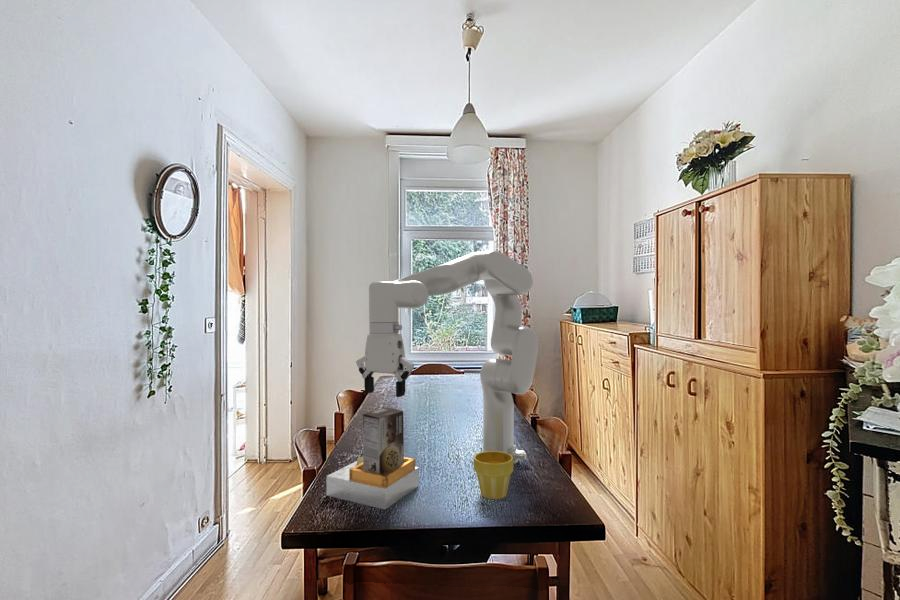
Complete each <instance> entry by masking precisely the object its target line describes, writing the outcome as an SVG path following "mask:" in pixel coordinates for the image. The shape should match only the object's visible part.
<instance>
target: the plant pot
mask: <svg viewBox="0 0 900 600" xmlns="http://www.w3.org/2000/svg"><path fill="white" fill-rule="evenodd" d="M514 465H515V464H514V462H513V457H512V455H510V454H508V453H505V452H501V451H484V452H483V451H480V452H477V453H475V454H474V456H473V471H474V472H475V473H476V476H477V480H478V486H479V490H480V491H479V492H480V495H481V496H482V497H484V498H485V499H489V500H501V499H504V498H506V497H507V495H508V489H509V485H510V484H509V483H510V480H511V474H512V473H513V472H514Z"/></svg>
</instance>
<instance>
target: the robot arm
mask: <svg viewBox="0 0 900 600" xmlns="http://www.w3.org/2000/svg"><path fill="white" fill-rule="evenodd" d="M480 281H484V287H485V289H486V290H487V292H488V294H490V297H491V298H492V300H493V303H494V306H495V314H494V321H493V326H492V332H491V337H490V348H491V349H492V351H493V352H494V353H496V354H499V355H503V356H508V357H511V360H508V359H505V358H504V359H503V358H490V359H488V360H485V362H484V363H483V364H482V366H481V369H480V373H479V377H480V378H479V379H480V384H481V389H482V398H483V400H482V401H483V403H482V404H483V410H482V411H483V413H482V415H483V416H482V417H483V418H482V419H483V421H482V424H483V425H482V430H483V432H482V433H483V434H482V437H483V438H482V452H484V451H501V452H505V453H508V454H510V455H512V457H513V462H514V465H516V464H517V463H518V462H519V460H520V459H521V460H526V459H527V453H526V450H519V449H518V448H517V444H514V434H515V433H514V430H515V429H514V426H515V425H514V419H515V418H514V416H515V413H514V411H515V407H514V406H515V403H514V399H513V398H514V397H513V395H512V394H514V395H515V394H516V395H523V394H526V393H528V391H529V390H530V388H531V387H532V384H533V381H534V376H535V371H536V366H537V360H538V354H539V338H538V335H537V332H536V331H535V330H534V329H532V328H531V327H528V326H525V325H522V318H523V317H522V316H523V306H522V304H521V301H520V299H519V297H518V296H524V295H526V294H528V293H529V292H530V291H531V289H532V287H533V276H532V274H531V272H530V271H529V269H527V268H526V267H525V266H524V265H522V264H521V263H519V262H518V261H516V260H514V259H513V258H512V257H510V256H508V255H506V254H504V253H502V252H500V251H497V250H484V251H483V250H482V251H476V252H475V251H474V252H471V253H469V254H466V255H463V256H461V257H458V258H455V259H453V260H450V261H448V262H446V263H443V264H439V265H436V266H432V267H430V268H428V269H425V270H422V271H419V272H415V273H412V274H409V275H406V276H404V277H400V278H398V279H396V280H393V281H388V280H387V281H386V280H385V281H383V280H382V281H373V282H370V284H369V286H368V320H369V324H368V325H369V326H368V327H369V328H368V330H369V331H368V332H369V333H368V334H367V337H366V342H365V349H364V356H362V357H361V358H359V359H357V360H355V363H356V366H357V368H358V371H359V373H360V374H361V377H362V379H364V381H363V382H364V385H363V386H364V394H366V395H368V394H371V393H373V392H375V378H374V376H373V375H374V374H375V373H377V374H378V373H380V374H389V375H390V374H393V375H394V377H395V378H396V380H397V381H396V382H395V397H397V398H400V397H403V396H405V394H406V381H407V380H408V378H409V377H410V376H411V375H412V372H413V370H414V368H415V364H414V363H413V362H411V361H410V360H408V359H407V358H406V355H405V354H406V352H405V345H404V339H403V335H402V334H401V333H399V332H400V331H402V330H403V325H402V324H400V323H399V309H408V310H411V309H412V310H416V309H419V308H421V307H423V306H425V305H426V303H427V302H428V299H429V297H430V296H437V295H445V294H446V295H447V294H450V293H453V292H456V291H459V290H461V289H463V288H465V287H468V286H470V285H472V284H475V283H478V282H480Z"/></svg>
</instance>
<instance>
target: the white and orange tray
mask: <svg viewBox="0 0 900 600" xmlns="http://www.w3.org/2000/svg"><path fill="white" fill-rule="evenodd" d="M419 469H420V467H418V466H416V458H413V457H412V458H411V457H405V456H404V463H403V464H402V465H400V466H398V467H397V468H395V469H393V470H392V471H390V472H388V473H387V474H385V475H384V474H379V473H374V472H369V471H365V470H363V456H360V457H358V458H356V461H354V462H352V463H349V464H348V465H346V466H344V467H342V468H339V469H338V470H336V471H333V472H332V473H329V474H327V475H326V496H327V497H331V498H335V499H340V500H344V501H349V502H351V503H356V504H360V505H365V506H369V507H373V508H377V509H381V510H387V509H388V508H389V507H391V506H393V505H394V504H395V503H397V502H398V501H399V500H401V499H402V498H404V497H405V496H406V495H408V494H410V493H411V492H412V491H414V490H415V489H416V488H418V487H419V485H420V484H419V480H420V477H419V474H420V473H419Z"/></svg>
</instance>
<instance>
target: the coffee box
mask: <svg viewBox="0 0 900 600" xmlns="http://www.w3.org/2000/svg"><path fill="white" fill-rule="evenodd" d="M404 436H405V435H404V410H401V409H398V408H393V407H390V406H389V407H388V406H387V407H382V408H380V409H376V410H373V411H368V412H364V413H362V443H363V444H362V457H363V470H365V471H369V472H374V473H379V474H384V475H385V474H387V473H388V472H390V471H392V470H393V469H395V468H397V467H398V466H400V465H402V464H403V463H404V457H405V456H404V447H405V446H404V441H405V439H404Z"/></svg>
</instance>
